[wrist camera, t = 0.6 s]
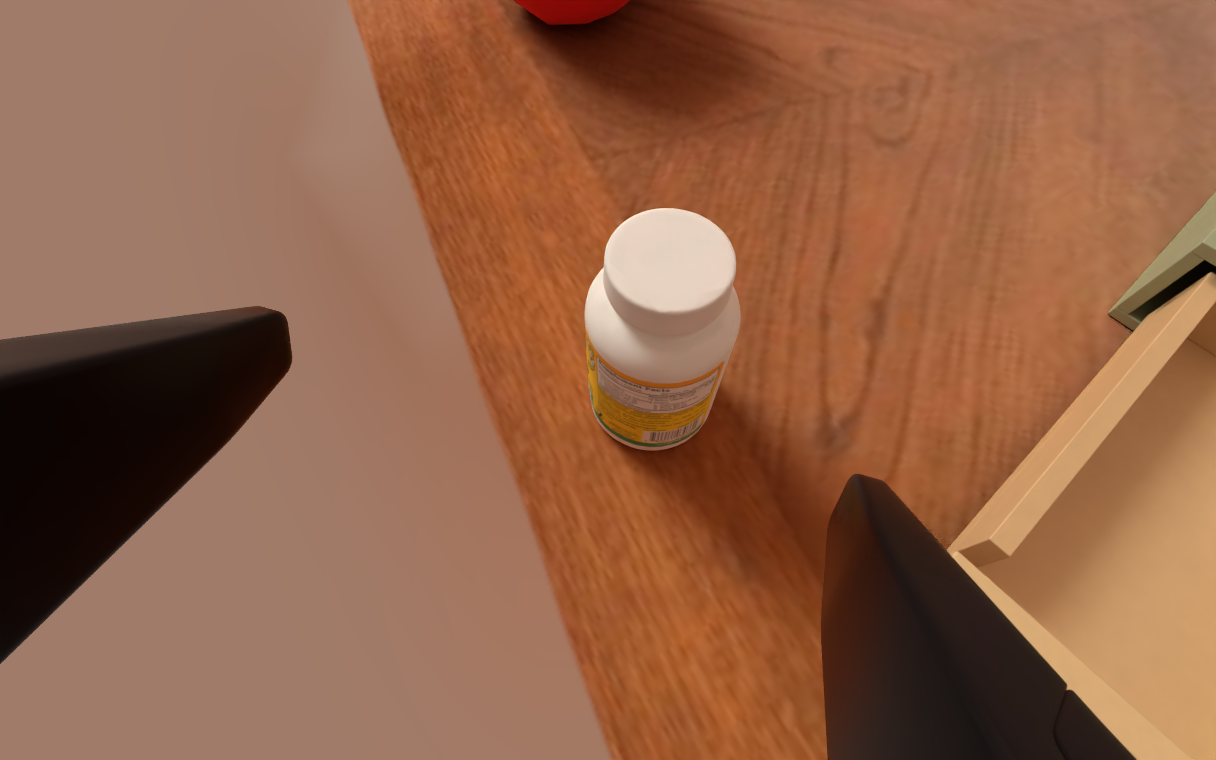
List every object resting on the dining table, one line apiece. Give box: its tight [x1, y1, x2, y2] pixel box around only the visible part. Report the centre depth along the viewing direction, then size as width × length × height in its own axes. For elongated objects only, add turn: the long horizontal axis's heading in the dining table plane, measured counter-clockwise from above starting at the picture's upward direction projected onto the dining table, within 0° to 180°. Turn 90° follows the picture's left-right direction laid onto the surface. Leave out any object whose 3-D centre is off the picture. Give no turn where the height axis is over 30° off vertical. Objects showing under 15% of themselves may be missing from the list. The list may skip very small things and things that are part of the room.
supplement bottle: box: [585, 208, 741, 450], centre depth 22 cm, size 5×5×10 cm
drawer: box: [947, 272, 1216, 760], centre depth 21 cm, size 22×11×4 cm, turn 132°
